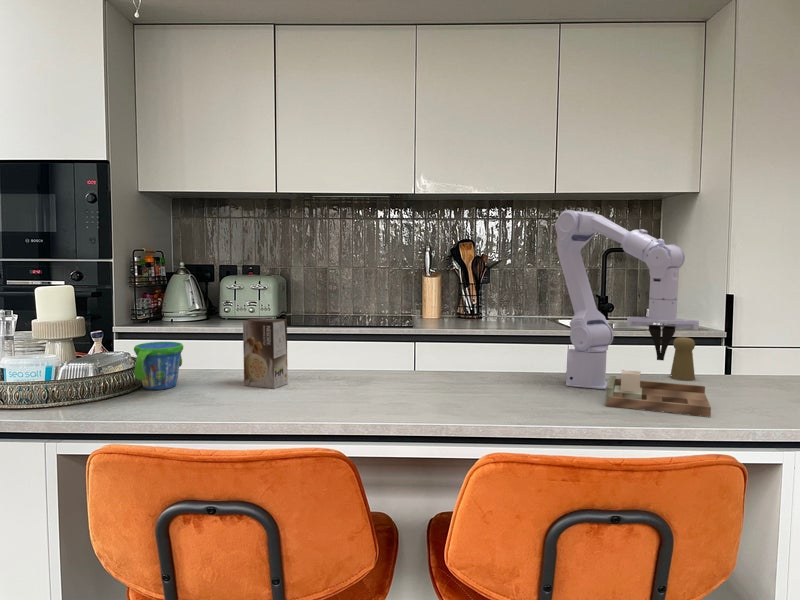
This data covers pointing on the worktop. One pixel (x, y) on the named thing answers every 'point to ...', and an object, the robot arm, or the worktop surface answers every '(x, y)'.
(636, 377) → the cream block
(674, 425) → the worktop surface
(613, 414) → the worktop surface
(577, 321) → the robot arm
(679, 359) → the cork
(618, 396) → the trap deck
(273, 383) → the coffee box
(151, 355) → the snack cup
